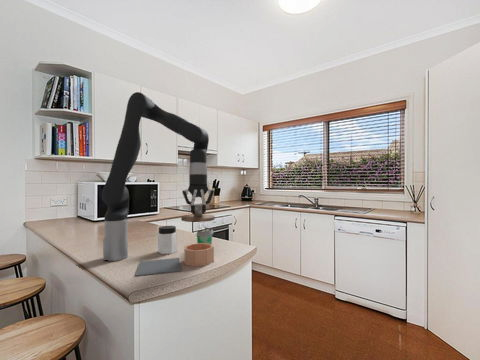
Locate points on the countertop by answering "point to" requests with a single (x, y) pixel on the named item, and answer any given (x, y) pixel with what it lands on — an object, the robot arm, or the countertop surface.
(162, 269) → the mat
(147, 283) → the countertop surface
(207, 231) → the food container
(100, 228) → the countertop surface
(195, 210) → the lid
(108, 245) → the robot arm
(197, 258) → the bowl
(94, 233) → the countertop surface
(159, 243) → the jar
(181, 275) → the countertop surface
